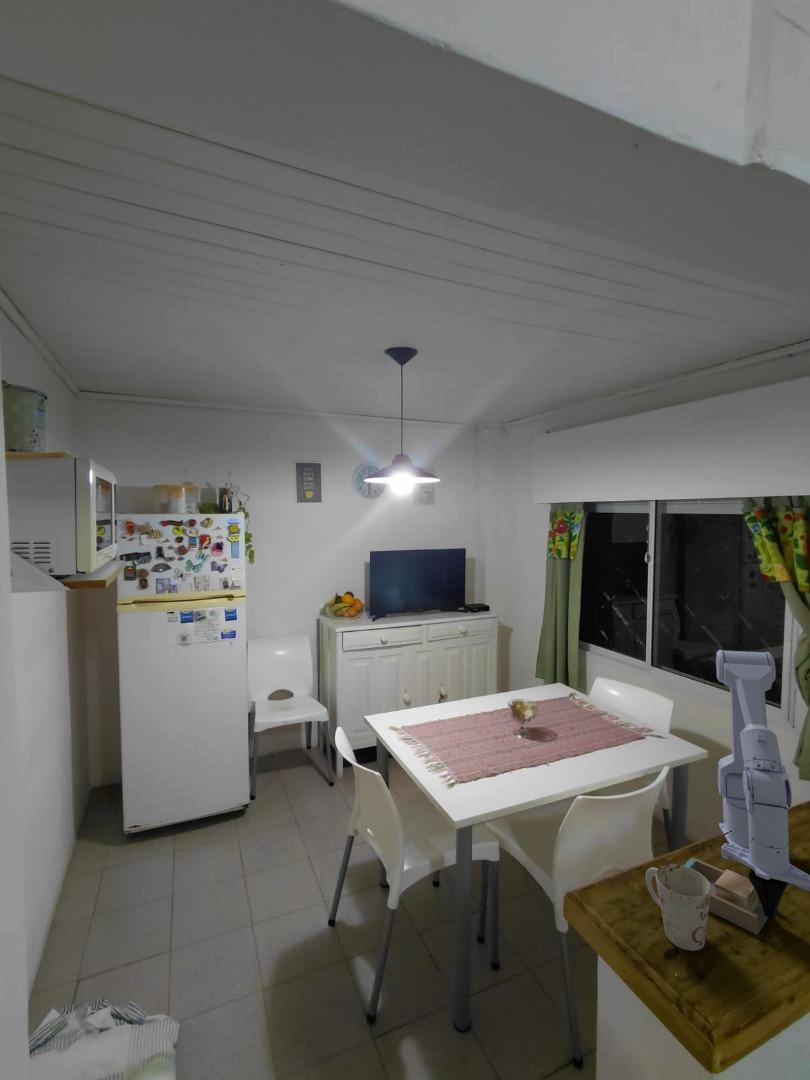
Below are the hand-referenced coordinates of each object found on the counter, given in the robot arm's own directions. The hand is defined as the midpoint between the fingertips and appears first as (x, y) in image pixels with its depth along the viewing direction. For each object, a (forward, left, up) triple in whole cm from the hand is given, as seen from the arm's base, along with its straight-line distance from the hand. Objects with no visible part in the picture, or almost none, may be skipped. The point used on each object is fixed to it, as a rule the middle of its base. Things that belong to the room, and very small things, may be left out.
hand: (770, 914), depth 91 cm
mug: (+5, -16, -2) cm, 17 cm away
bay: (-4, -6, -2) cm, 8 cm away
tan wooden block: (-3, -4, -1) cm, 5 cm away
